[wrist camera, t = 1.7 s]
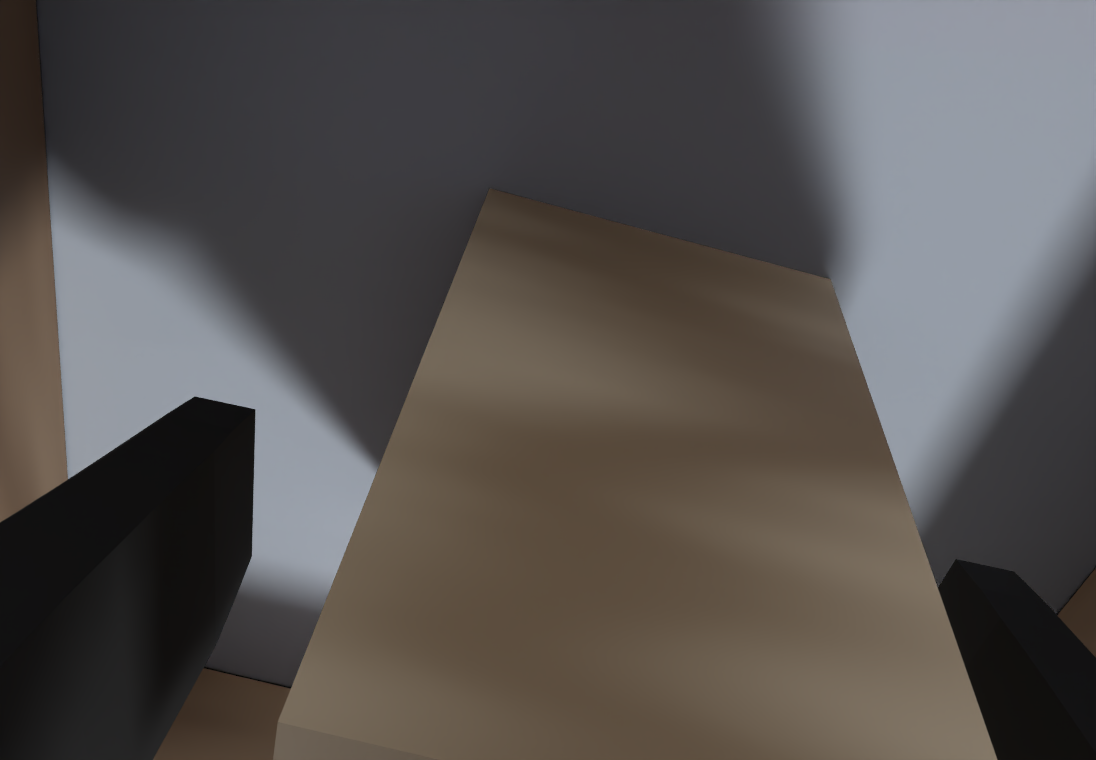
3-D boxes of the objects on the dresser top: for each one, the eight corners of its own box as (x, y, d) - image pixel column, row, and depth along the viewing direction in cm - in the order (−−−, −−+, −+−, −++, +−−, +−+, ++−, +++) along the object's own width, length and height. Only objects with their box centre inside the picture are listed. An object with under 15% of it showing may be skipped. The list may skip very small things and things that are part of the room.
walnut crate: (1665, -53, 8) (2239, 44, 5) (899, 849, 16) (953, 1083, 13) (-66, -574, 7) (-547, -807, 4) (49, 651, 16) (-90, 854, 13)
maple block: (830, 278, 11) (1046, 901, 5) (690, 578, 13) (717, 1205, 8) (489, 188, 10) (277, 722, 5) (418, 511, 13) (229, 1102, 7)
